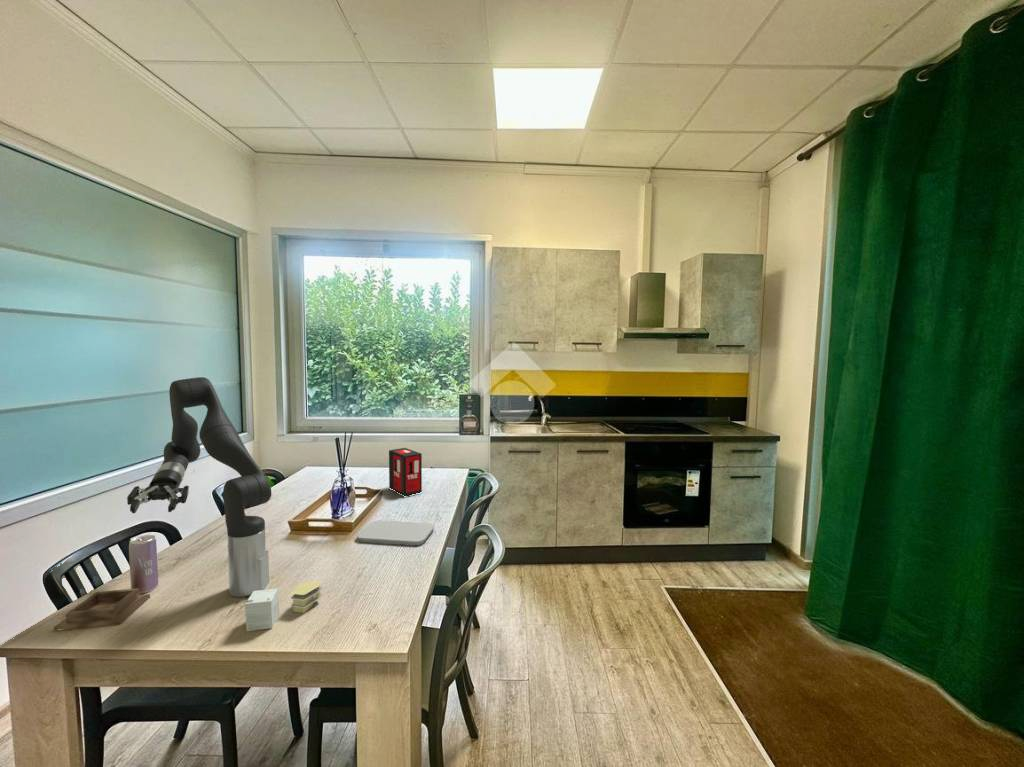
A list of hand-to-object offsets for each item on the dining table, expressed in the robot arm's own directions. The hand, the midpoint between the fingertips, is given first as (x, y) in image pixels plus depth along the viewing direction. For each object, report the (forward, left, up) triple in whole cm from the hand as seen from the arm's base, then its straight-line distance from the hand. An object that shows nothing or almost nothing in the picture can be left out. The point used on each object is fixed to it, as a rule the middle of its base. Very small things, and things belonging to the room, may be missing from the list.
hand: (151, 510), depth 126 cm
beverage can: (0, +5, -22) cm, 22 cm away
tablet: (-69, -20, -22) cm, 75 cm away
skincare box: (-39, +28, -22) cm, 53 cm away
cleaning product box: (-70, -72, -22) cm, 103 cm away
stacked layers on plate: (-48, +22, -22) cm, 57 cm away
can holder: (+3, +16, -22) cm, 27 cm away
